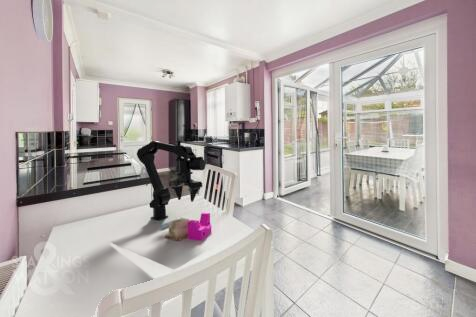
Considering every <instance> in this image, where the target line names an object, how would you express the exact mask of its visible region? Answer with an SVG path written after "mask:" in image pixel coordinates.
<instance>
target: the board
mask: <svg viewBox="0 0 476 317" xmlns="http://www.w3.org/2000/svg"><path fill="white" fill-rule="evenodd" d="M164 237H165V238H167V239H170V240H173V241H175V242H179V241H182V240H184V239H186V238H188V234H186V235H183V236H181V237H179V238H175V237H171V236H169V234H166V235H165V236H164Z"/></svg>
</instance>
